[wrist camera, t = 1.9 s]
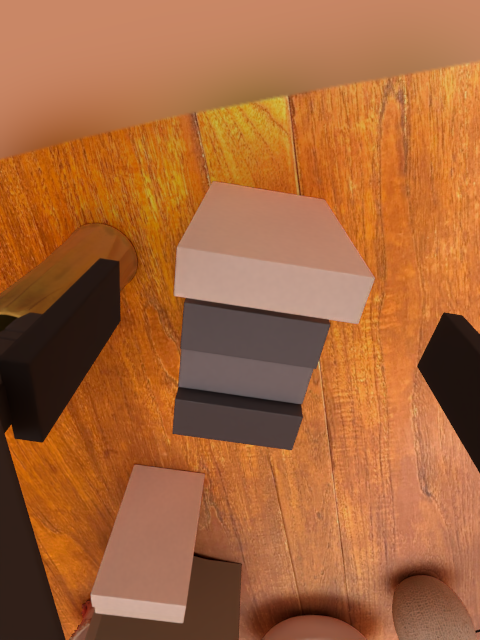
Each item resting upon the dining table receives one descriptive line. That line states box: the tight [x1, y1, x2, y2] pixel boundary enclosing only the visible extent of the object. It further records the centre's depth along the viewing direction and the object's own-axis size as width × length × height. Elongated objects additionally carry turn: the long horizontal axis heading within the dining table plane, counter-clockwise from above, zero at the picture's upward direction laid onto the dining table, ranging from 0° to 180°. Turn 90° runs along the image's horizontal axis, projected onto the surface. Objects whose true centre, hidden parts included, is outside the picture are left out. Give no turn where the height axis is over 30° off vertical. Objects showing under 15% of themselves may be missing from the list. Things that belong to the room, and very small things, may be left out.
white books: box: [91, 464, 205, 623], centre depth 43 cm, size 6×9×14 cm
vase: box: [0, 223, 137, 332], centre depth 27 cm, size 6×6×14 cm
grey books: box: [173, 298, 330, 450], centre depth 30 cm, size 11×9×12 cm
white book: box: [174, 181, 375, 324], centre depth 24 cm, size 2×9×15 cm, turn 81°
